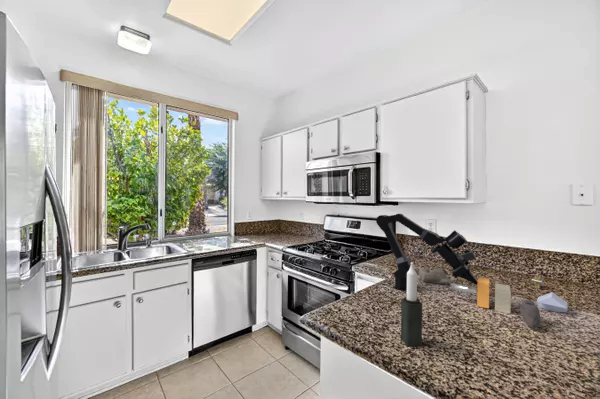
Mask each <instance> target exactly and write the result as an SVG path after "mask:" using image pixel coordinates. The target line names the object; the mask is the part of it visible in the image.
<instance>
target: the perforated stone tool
mask: <svg viewBox="0 0 600 399" xmlns="http://www.w3.org/2000/svg"><path fill="white" fill-rule="evenodd" d="M519 310H520V315H521V317H522V319H523V321H524V323H525V324H526V325H527V326H528V327H530V329H534V330H537V329H538V328H539V327H540V325H541V313H540V311H539V310H540V309H539V306H538V305H537V304H536V303H535V302H534V301H532V300H528V299H524V300H523V301H521V303H520V306H519Z"/></svg>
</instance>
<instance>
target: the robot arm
mask: <svg viewBox="0 0 600 399" xmlns="http://www.w3.org/2000/svg"><path fill="white" fill-rule="evenodd" d="M396 222H398V223H400V224H401V225H403V226H404V227H406V228H407V229H409V230H410V231H411V232H413V233H415V234H416V235H418V236H419V237H420V238H421V240H422V241H424V242H425V243H426V245H428V246H430V247H431V246H432V247H431V254H435V253H437V254H438V255H439V256H440V257H441V258H442V259H443V260H444V262H445V263H446V264H448V265H449V266H450V267H451V268H452V271H451V273H452V277H454V279H457V278H458V277H459V278H461V279H463V280H466V281H468V282H469V283H472V284H474V285H477V283H478V279H476V277H475V276H474V274H473V272H472V271H471V268H472V267H471V265H470V264H472V263H471V261H474V260H476V258H477V256H476V255H475V253H474V251H473V250H470V249H465V250H464V253H461V254H459V252H455V250H458V249H459V248H461V247H462V246H463V245H465V244H466V243H467V242H468V240H467V239H466V238H465V236H463V235H462V234H461V233H460V232H458V231H456V230H453V231H452V232H451V233H450V234H449V235H447V236H442V235H439V234H438V233H436V232H434V231H432V230H429V229H426V228H424V227H423V226H422V225H419V224H417V223H416V222H414V221H413V220H411V219H410V218H409V217H407V216H405V215H404V214H403V213H396V214H393V215H387V214H382V215H378V216H377V217H376V220H375V223H376V225H377V226H378V227H379V229H381V231H382V232H383V233H384V235H385V237H386V239H387V241H388V243H389V245H390V248H391V250H392V252H393V254H394V256H395V260H396V266H397V270H395V271H394V272H393V277H394V285H393V286H392V288H393V289H396V290H399V291H403V292H404V291H407V272H408V271H409V269H410V266H411V262H412V258H411V257H410V256H408V257H407V256H406V255H405V253H404V251H403V248H402V247H401V245H400V242H399V240H398V237H397V236H396V234H395V232H394V230H393V224H392V223H396ZM434 246H435V247H434ZM454 249H455V250H454ZM412 263H413V262H412ZM468 265H469V266H468ZM413 266H414V263H413Z"/></svg>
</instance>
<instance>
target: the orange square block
mask: <svg viewBox="0 0 600 399" xmlns="http://www.w3.org/2000/svg"><path fill="white" fill-rule="evenodd" d="M477 282H478V283H477V284H476V285H477V287H476V288H477V294H476V295H477V300H476V301H477V302H476V305H477V307H479V308H480V307H483V309H484V308H485V309H489V308H490V296H489V290H490V278H486V277H482V276H481V277H480V276H478V279H477Z"/></svg>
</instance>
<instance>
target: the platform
mask: <svg viewBox="0 0 600 399" xmlns="http://www.w3.org/2000/svg"><path fill="white" fill-rule="evenodd" d="M541 276H542V275H541V274H540V275H539V276H537V275H535V276H533V277H532V279H531V280H532V281H534V288H535V289H538V290H540V289H541V287H542V283H543V281H544V277H541Z"/></svg>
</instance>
